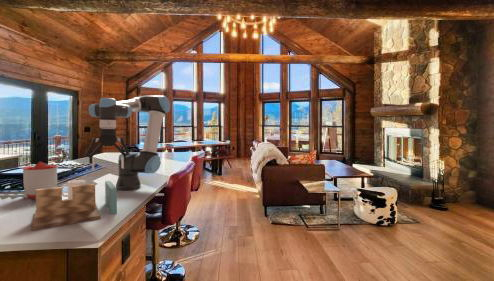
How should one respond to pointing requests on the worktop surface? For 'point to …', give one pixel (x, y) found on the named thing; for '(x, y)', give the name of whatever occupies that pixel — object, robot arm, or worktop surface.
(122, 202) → the worktop surface
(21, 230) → the worktop surface
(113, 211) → the teal slotted plate
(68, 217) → the joint base
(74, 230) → the worktop surface
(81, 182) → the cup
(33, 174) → the citrus juicer
